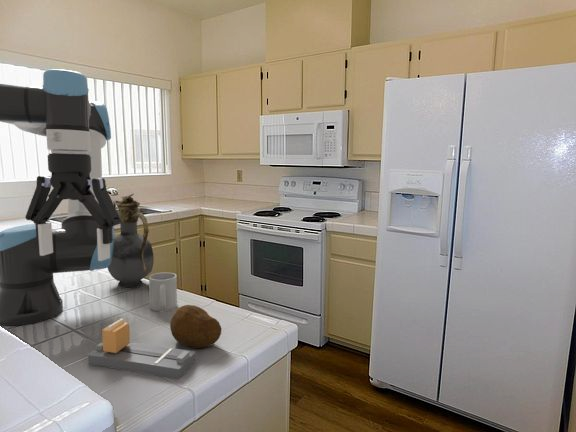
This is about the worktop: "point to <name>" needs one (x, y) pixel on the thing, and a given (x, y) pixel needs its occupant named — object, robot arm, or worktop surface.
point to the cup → (163, 291)
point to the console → (145, 359)
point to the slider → (116, 336)
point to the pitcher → (131, 247)
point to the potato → (194, 327)
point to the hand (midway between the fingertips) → (74, 256)
